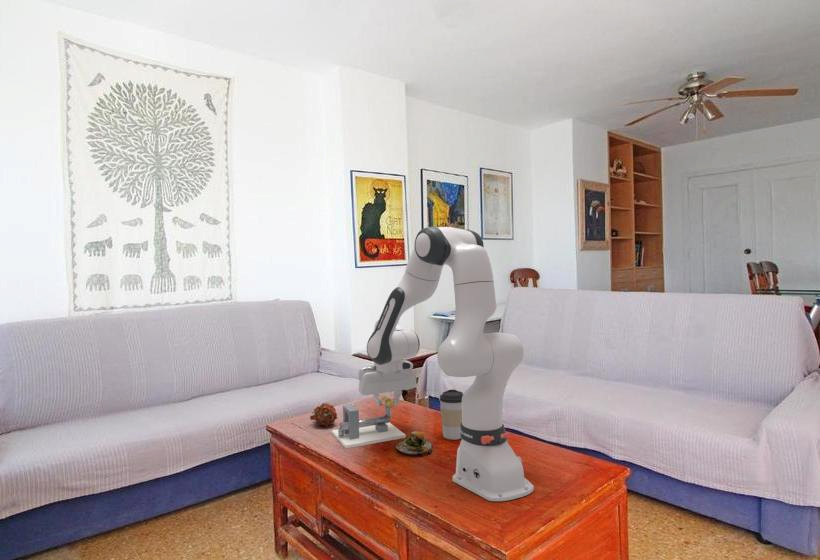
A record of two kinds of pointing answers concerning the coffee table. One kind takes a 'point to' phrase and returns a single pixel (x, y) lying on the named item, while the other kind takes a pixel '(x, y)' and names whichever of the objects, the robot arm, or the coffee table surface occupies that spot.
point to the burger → (415, 444)
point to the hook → (371, 421)
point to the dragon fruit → (324, 415)
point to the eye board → (364, 431)
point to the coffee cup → (451, 413)
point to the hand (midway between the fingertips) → (387, 404)
